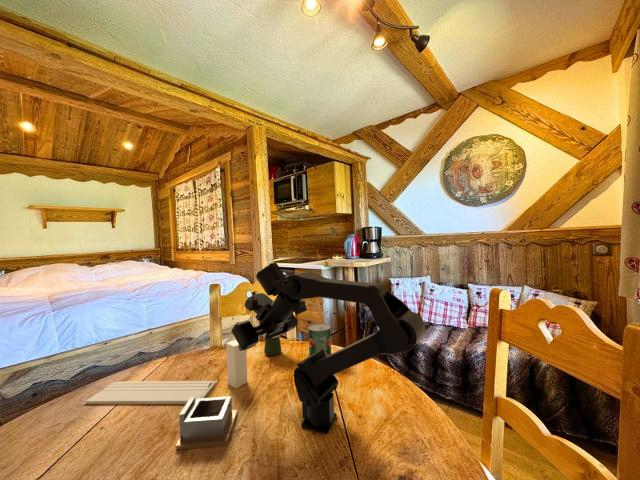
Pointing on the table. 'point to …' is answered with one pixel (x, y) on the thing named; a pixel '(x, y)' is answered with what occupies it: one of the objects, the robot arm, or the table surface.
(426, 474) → the table surface
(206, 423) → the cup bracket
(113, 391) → the baseboard molding
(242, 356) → the cream rectangular block
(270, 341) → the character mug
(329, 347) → the canned tomato
